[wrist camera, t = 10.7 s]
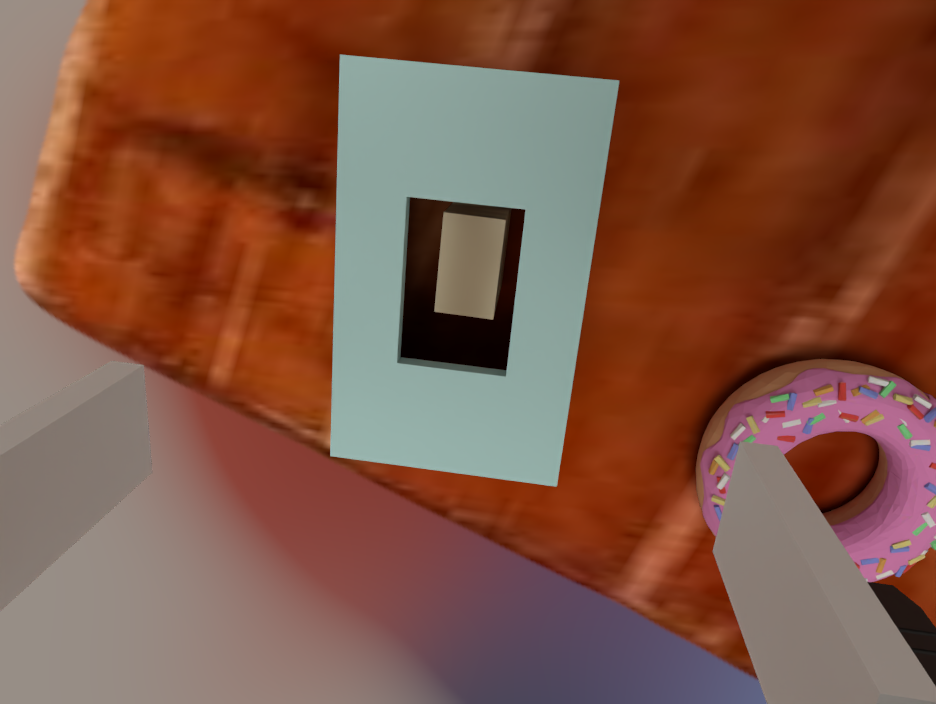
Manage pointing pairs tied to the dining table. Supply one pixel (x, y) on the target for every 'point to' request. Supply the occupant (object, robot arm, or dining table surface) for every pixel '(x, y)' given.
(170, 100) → the dining table surface
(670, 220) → the dining table surface
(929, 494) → the donut
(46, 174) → the dining table surface
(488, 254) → the beige rectangular block
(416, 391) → the box
